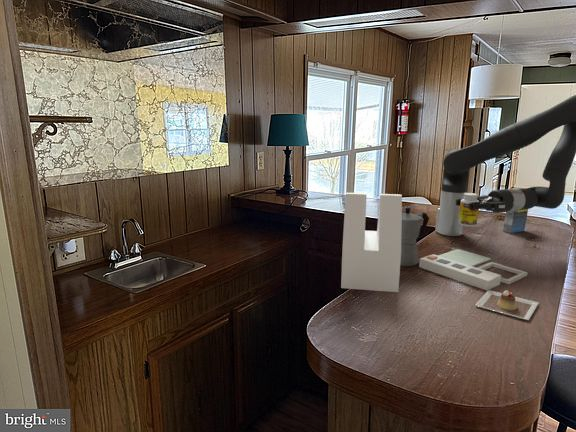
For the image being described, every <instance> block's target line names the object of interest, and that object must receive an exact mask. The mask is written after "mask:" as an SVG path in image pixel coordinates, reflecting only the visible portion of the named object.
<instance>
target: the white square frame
mask: <svg viewBox="0 0 576 432" xmlns="http://www.w3.org/2000/svg"><path fill="white" fill-rule="evenodd" d="M493 267H494V268H497V269H499V270H503V271H506V272H508V273H509V272H510V273H513V274H515V275H514V276H511V277H509V278H505V277H502V276H501V281H500V283H504V284H507V285H511V284H513V283H515V282H517V281H520V280H521V279H523V278H525V277H528V272H527V271H523V270H520V269H517V268H513V267H510V266H506V265H503V264H501V263H497V262H494V261H490V262H488V263H485V264H483V265H481V266H480V265H479V267H477V268H480V269H483V270H487V269H490V268H493Z"/></svg>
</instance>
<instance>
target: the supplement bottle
mask: <svg viewBox="0 0 576 432" xmlns="http://www.w3.org/2000/svg"><path fill="white" fill-rule="evenodd" d="M477 196H478V193H473V192H466V193H464V199H462V200H461V202H460V212H459V224H460V225H462V226H464V227H468V228H469V227H475V226H477V225H478V219H479V218H478V216H479V210H480V209H475V210H470V209H469V203H470V202H479V201H478V200H476V199H477Z"/></svg>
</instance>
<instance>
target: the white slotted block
mask: <svg viewBox="0 0 576 432" xmlns="http://www.w3.org/2000/svg"><path fill="white" fill-rule="evenodd" d="M379 194H380V195H379V203H378V204H379V205H378V214H377V215H378V217H377V226H376V227H377V228H376V230H366V217H367V216H366V215H367V195H368V194H367V193H365V192H345V197H344V199H345V200H344V202H345V203H344V219H343V233H342V250H341V251H342V256H341V281H340V283H341V284H340V288H341V289H351V290H365V291H374V292H375V291H378V292H387V293H388V292H391V293H399V286H400V274H401V265H400V261H401V228H402V213H403V196H402V195H403V194H398V193H397V194H396V193H394V194H393V193H391V194H390V193H379Z"/></svg>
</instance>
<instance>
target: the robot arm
mask: <svg viewBox="0 0 576 432" xmlns="http://www.w3.org/2000/svg"><path fill="white" fill-rule="evenodd" d="M562 126H563V127H562ZM560 127H562V132H561V135H560V137H559V140H558V141H557V143H556V145H554V148H553V150H552V152H551V154H550V156H549V157H548V160H547V163H546V164H545V167H544V169H543V172H542V174H541V175H542V178H543V179H544V180H545V181H547V182H549V185H548V187H547V186H530V187H527V188H504V189H494V190H492V191H490V192H489V193H488V194H485V195H484V194H482V195H477V199H476V200H478V201H479V202H470V203H469V209H470V210H475V209H479V210H481V211H486V212H492V213H495V214H499V213H506V212H512V211H517V210H525V209H528V210H530V209H532V208H535V207H538V208H545V209H557V208H558V207H560V205H562V203H563V202H564V199H565V195H566V194H565V193H566V180H567V177H568V175H569V172H570V169H571V168H572V165H573V163H574V159H575V157H576V94H574V95H573V96H570V97H569V98H566V99H564V100H562V101H561V102H559V103H558V104H556V105H553V106H552V107H550V108H547V109H545V110H544V111H542V112H539V113H536V114H535V115H532V116H529V117H527V118H525V119H523V120H519V121H518V122H514V123H512V124H510V125H508V126H505V127H504V128H501V129H499V130H498V131H496V132H494V133H491V135H489V136H487V137H486V138H484V139H481V140H480V141H479V142H477V143H474V144H471V145H469V146H466V147H463V148H460V149H459V148H456V149H452V150H450V151H448V152H447V153H446V155H445V156H444V159H443V163H442V165H443V172H442V173H443V174H442V181H441V190H440V200H439V208H437V211H436V217H435V218H436V219H435V231H434V232H436V233H438V234H440V235H444V236H450V237H457V236H458V237H459V236H461V235H462V234H463V226H462V225H460V224H459V212H460V202H461V200H462V199H464V193H467V190H468V189H467V188H468V182H469V180H468V179H469V174H470V173H469V171H470V169H472V168H474V167H476V166H478V165H480V164H482V163H484V162H486V161H489V160H494V159H496V158H500V157H502V156H505V155H509V154H511V153H513V152H516V151H518V150H521V149H524V148H526V147H528V146H530V145H532V144H534V143H535V142H537V141H538V140H540V139H542V138H543V137H544V136H546V135H547V134H549V133H550V132H551V131H553V130H556V129H558V128H560Z"/></svg>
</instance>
